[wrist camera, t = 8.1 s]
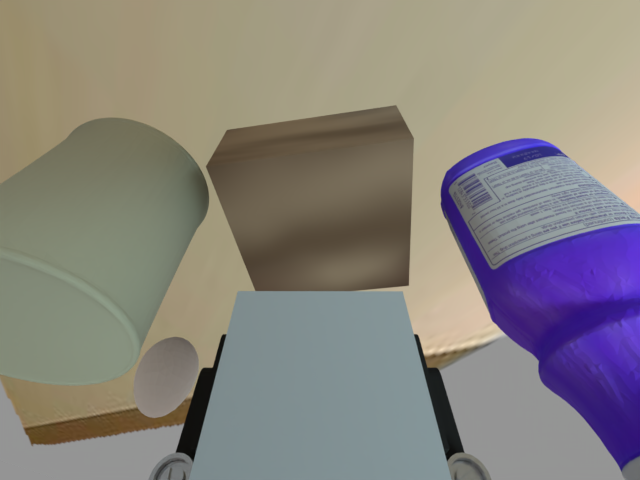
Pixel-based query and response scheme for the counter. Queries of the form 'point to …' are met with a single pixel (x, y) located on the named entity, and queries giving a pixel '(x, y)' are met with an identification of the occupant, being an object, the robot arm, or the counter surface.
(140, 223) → the can
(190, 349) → the egg
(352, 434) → the grey cube
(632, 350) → the bottle
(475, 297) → the counter surface
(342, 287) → the walnut block
